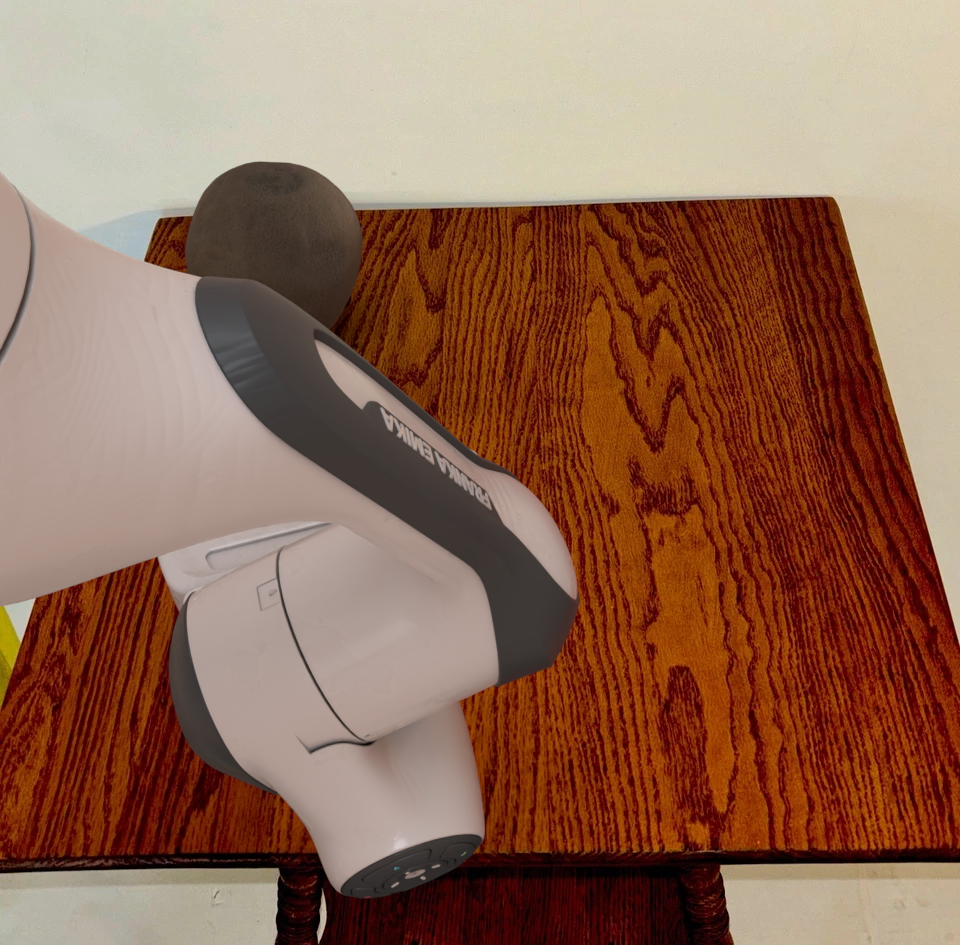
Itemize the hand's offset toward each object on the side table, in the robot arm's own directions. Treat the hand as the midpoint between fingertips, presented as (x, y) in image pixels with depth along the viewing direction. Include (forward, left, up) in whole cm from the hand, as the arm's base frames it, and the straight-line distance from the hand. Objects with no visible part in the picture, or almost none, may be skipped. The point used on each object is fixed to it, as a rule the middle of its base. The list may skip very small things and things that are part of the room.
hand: (307, 444), depth 68 cm
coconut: (+1, +23, -9) cm, 25 cm away
